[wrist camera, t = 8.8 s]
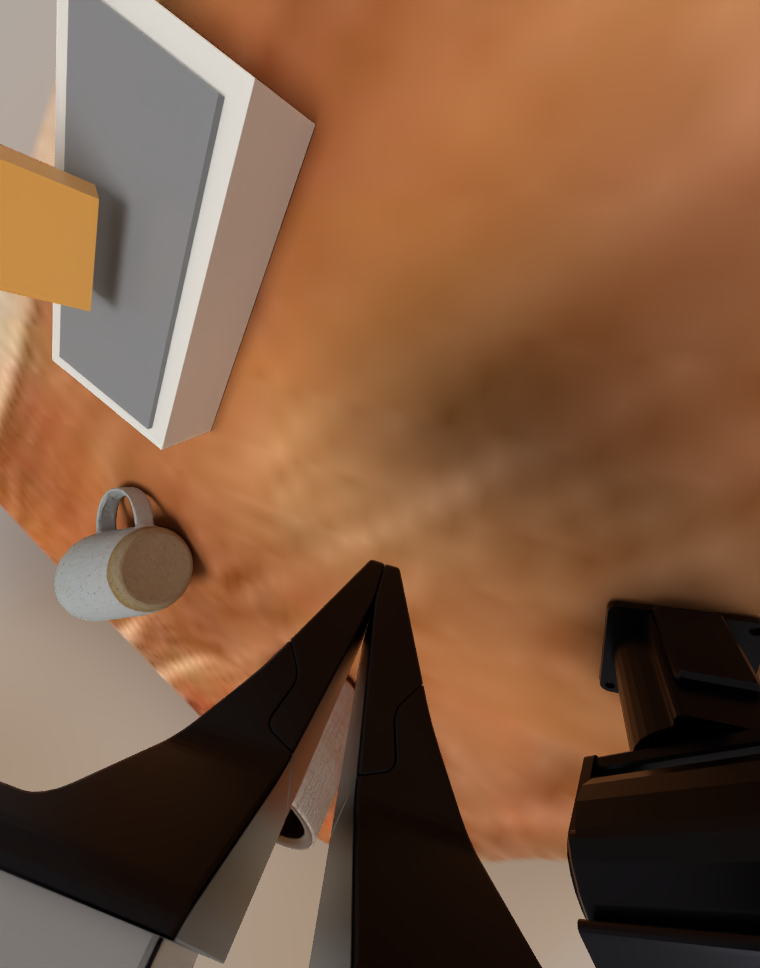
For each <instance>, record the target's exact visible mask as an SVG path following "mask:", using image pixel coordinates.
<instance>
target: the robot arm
mask: <svg viewBox="0 0 760 968" xmlns="http://www.w3.org/2000/svg"><path fill="white" fill-rule="evenodd" d="M615 610H622V611H621V612H615ZM369 617H370V618H369ZM367 624H368V625H367ZM755 627H757V629H751V628H755ZM365 631H366V632H365ZM364 634H365V636H364ZM363 637H364V640H363ZM362 640H363V645H362V650H361V656H360V662H359V668H358V674H357V680H356V686H355V692H354V699H353V705H352V711H351V717H350V723H349V729H348V735H347V741H346V747H345V753H344V759H343V765H342V771H341V777H340V783H339V789H338V795H337V801H336V807H335V813H334V819H333V825H332V831H331V838H330V843H329V849H328V855H327V862H326V868H325V874H324V880H323V886H322V892H321V898H320V904H319V910H318V916H317V922H316V928H315V934H314V940H313V946H312V952H311V959H310V964H309V968H542V967H541V965H540V964H539V962H538V960H537V959H536V957H535V955H534V953H533V952H532V950H531V948H530V947H529V945H528V943H527V941H526V939H525V938H524V936H523V935H522V933H521V931H520V929H519V927H518V926H517V924H516V922H515V920H514V919H513V917H512V915H511V913H510V912H509V910H508V908H507V906H506V905H505V903H504V901H503V899H502V898H501V896H500V894H499V893H498V891H497V889H496V887H495V886H494V884H493V882H492V880H491V879H490V877H489V875H488V873H487V872H486V870H485V868H484V866H483V865H482V863H481V861H480V859H479V857H478V856H477V854H476V852H475V850H474V848H473V846H472V843H471V841H470V839H469V836H468V834H467V831H466V829H465V826H464V823H463V820H462V818H461V815H460V812H459V809H458V806H457V802H456V799H455V796H454V793H453V790H452V787H451V784H450V781H449V778H448V774H447V771H446V768H445V765H444V762H443V759H442V756H441V753H440V750H439V746H438V743H437V739H436V736H435V732H434V729H433V726H432V722H431V717H430V713H429V709H428V705H427V700H426V695H425V690H424V686H423V685H422V684H423V681H422V676H421V672H420V667H419V662H418V657H417V652H416V647H415V642H414V637H413V632H412V627H411V623H410V618H409V613H408V608H407V603H406V598H405V593H404V588H403V583H402V578H401V574H400V570H399V568H397V567H394V566H391V565H385V566H384V564H383V563H381V562H378V561H375V560H370V561H369V562H368V563H367V564H366V565H365V566H364V567H363V568H362V569H361V570H360V571H359V572H358V573H357V574H356V575H355V576H354V577H353V578H352V579H351V580H350V581H349V582H348V583H347V584H346V585H345V586H344V587H343V588H342V589H341V590H340V591H339V592H338V593H337V594H336V595H335V596H334V597H333V598H332V599H331V600H330V601H329V602H328V603H327V604H326V605H325V606H324V607H323V608H322V609H321V610H320V611H319V612H318V613H317V614H316V615H315V616H314V617H313V618H312V619H311V620H310V621H309V622H308V623H307V624H306V625H305V626H304V627H303V628H302V629H301V630H300V631H299V632H298V633H297V634H296V635H295V636H294V637H293V638H292V639H291V642H290V641H289V642H288V643H287V644H286V645H285V646H284V647H283V648H282V649H281V650H280V651H279V652H278V653H276V654H275V655H274V656H273V657H272V658H271V659H270V660H269V661H268V662H267V663H266V664H265V665H264V666H263V667H261V668H260V669H259V670H258V671H257V672H256V673H254V674H253V675H252V676H251V677H250V678H248V679H247V680H246V681H245V682H244V683H242V684H241V685H240V686H239V687H237V688H236V689H235V690H234V691H232V692H231V693H230V694H228V695H227V696H226V697H225V698H223V699H222V700H221V701H220V702H218V703H217V704H216V705H215V706H213V707H212V708H211V709H210V710H208V711H207V712H206V713H205V714H203V715H202V716H201V717H199V718H198V719H197V720H196V721H194V722H193V723H192V724H190V725H189V726H188V727H186V728H185V729H183V730H182V731H180V732H179V733H177V734H176V735H174V736H172V737H171V738H169V739H167V740H165V741H163V742H161V743H159V744H157V745H154V746H152V747H150V748H148V749H146V750H143V751H141V752H139V753H137V754H135V755H132V756H131V757H128V758H126V759H124V760H121V761H119V762H117V763H115V764H113V765H111V766H108V767H106V768H104V769H102V770H99V771H97V772H95V773H93V774H91V775H89V776H86V777H84V778H82V779H80V780H78V781H75V782H73V783H71V784H68V785H65V786H63V787H60V788H57V789H52V790H48V791H41V792H30V791H24V790H21V789H19V788H16V787H13V786H11V785H8V784H5V783H3V782H0V968H193V966H194V964H195V961H196V959H197V956H198V954H201V955H203V956H206V957H208V958H211V959H213V960H215V961H218V962H220V963H224V962H225V960H226V957H227V955H228V952H229V950H230V948H231V945H232V943H233V941H234V938H235V936H236V934H237V931H238V929H239V927H240V925H241V922H242V920H243V917H244V915H245V913H246V911H247V908H248V906H249V904H250V901H251V899H252V896H253V894H254V892H255V890H256V887H257V885H258V882H259V880H260V878H261V876H262V873H263V871H264V869H265V866H266V864H267V862H268V859H269V857H270V855H271V852H272V850H273V848H274V845H275V843H276V841H277V839H278V836H279V834H280V832H281V829H282V827H283V825H284V822H285V818H286V817H287V815H288V813H289V811H290V808H291V806H292V804H293V801H294V799H295V797H296V794H297V792H298V790H299V787H300V785H301V783H302V780H303V778H304V776H305V773H306V771H307V769H308V766H309V764H310V762H311V759H312V757H313V755H314V752H315V750H316V748H317V745H318V743H319V741H320V738H321V736H322V734H323V731H324V729H325V727H326V725H327V722H328V720H329V718H330V715H331V713H332V711H333V708H334V706H335V704H336V701H337V699H338V697H339V694H340V692H341V690H342V687H343V685H344V683H345V680H346V678H347V676H348V673H349V671H350V669H351V666H352V664H353V662H354V659H355V657H356V655H357V652H358V650H359V648H360V645H361V643H362ZM759 665H760V619H759V618H755V617H747V616H739V615H730V614H722V613H714V612H705V611H697V610H689V609H680V608H672V607H664V606H655V605H647V604H639V603H630V602H622V601H613V602H610V603H609V604H608V605H607V610H606V619H605V629H604V638H603V647H602V657H601V666H600V676H599V679H600V685H601V687H602V688H603V689H605V690H607V691H611V692H615V693H619V696H620V701H621V706H622V711H623V717H624V722H625V727H626V732H627V738H628V743H629V748H630V751H629V752H623V753H618V754H612V755H607V756H601V757H598V756H596V755H593V756H588V757H584V761H583V765H582V770H581V775H580V780H579V784H578V789H577V794H576V798H575V803H574V808H573V813H572V817H571V822H570V827H569V831H568V840H567V850H568V851H567V856H568V862H569V868H570V873H571V878H572V881H573V886H574V889H575V893H576V895H577V898H578V901H579V904H580V907H581V909H582V912H583V914H584V916H585V918H586V919H579V920H578V930H579V933H580V936H581V938H582V940H583V942H584V944H585V946H586V948H587V950H588V952H589V954H590V956H591V959H592V961H593V963H594V965H595V967H596V968H760V680H759V678H758V677H757V675H756V674H757V671H758V668H759ZM608 682H611V683H608Z"/></svg>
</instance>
